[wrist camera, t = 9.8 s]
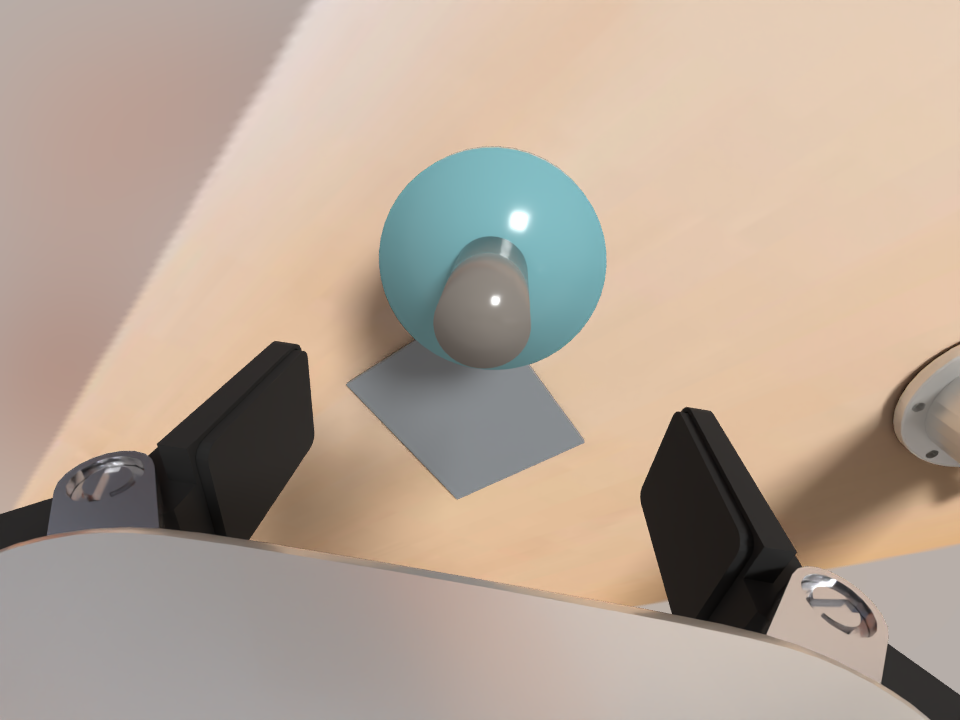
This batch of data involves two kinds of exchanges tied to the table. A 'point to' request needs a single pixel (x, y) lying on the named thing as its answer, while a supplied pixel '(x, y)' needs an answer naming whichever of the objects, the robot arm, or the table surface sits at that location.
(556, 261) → the lid
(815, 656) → the robot arm
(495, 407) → the mat
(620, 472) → the table surface
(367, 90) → the table surface
